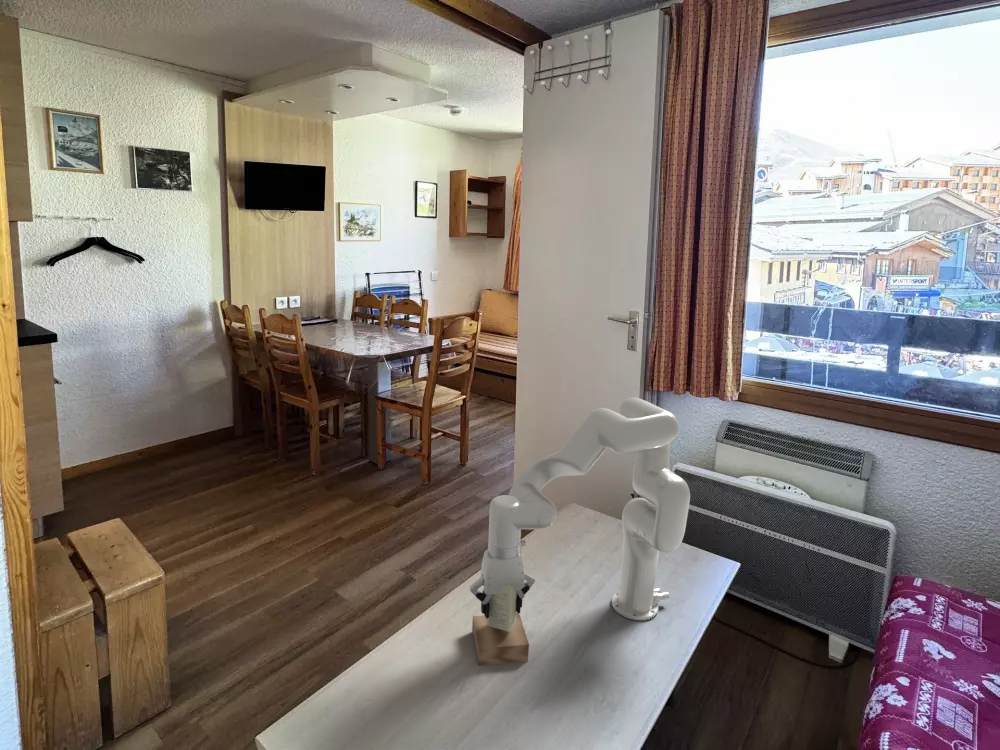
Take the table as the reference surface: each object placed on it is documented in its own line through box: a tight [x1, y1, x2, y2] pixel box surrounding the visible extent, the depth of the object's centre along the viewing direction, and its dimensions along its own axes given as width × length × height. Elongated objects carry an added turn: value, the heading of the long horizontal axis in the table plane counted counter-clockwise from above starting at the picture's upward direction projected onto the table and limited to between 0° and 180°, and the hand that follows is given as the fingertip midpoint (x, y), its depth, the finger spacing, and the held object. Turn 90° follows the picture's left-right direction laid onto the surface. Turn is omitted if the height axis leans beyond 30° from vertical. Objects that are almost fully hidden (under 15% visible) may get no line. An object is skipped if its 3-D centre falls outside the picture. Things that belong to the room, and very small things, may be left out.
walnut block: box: [471, 612, 530, 666], centre depth 151 cm, size 12×12×5 cm
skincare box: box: [487, 585, 517, 632], centre depth 149 cm, size 6×4×12 cm
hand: (501, 611), depth 150 cm, fingers closed on skincare box, 7 cm apart
